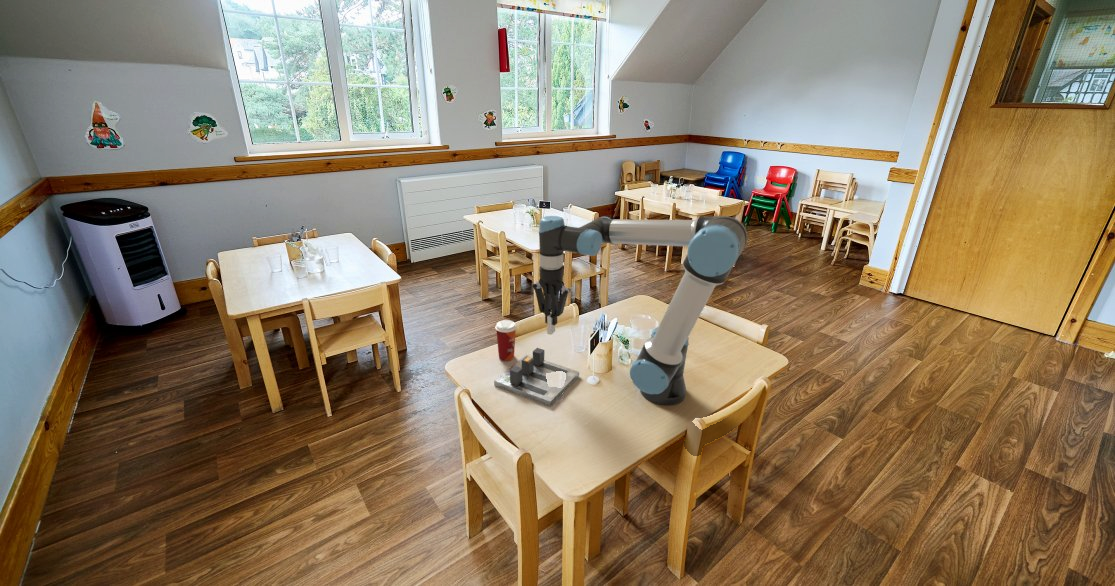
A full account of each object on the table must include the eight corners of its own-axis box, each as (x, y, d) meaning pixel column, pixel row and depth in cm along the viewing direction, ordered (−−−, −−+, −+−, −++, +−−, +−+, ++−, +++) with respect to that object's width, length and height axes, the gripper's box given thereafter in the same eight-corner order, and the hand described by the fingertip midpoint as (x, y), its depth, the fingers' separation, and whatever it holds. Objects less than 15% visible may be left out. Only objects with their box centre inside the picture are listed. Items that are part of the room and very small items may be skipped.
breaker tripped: (533, 371, 164) (533, 358, 162) (528, 375, 161) (529, 362, 159) (526, 368, 165) (526, 355, 163) (521, 372, 163) (521, 359, 161)
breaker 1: (522, 381, 158) (522, 368, 156) (517, 385, 156) (517, 372, 154) (515, 378, 160) (515, 365, 158) (510, 382, 157) (509, 369, 155)
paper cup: (515, 363, 172) (515, 329, 167) (494, 362, 172) (493, 328, 167) (517, 352, 180) (517, 319, 174) (497, 351, 180) (496, 318, 174)
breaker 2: (544, 361, 169) (544, 349, 167) (539, 365, 167) (539, 353, 165) (537, 359, 171) (537, 347, 169) (532, 363, 168) (532, 351, 166)
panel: (579, 376, 166) (579, 371, 165) (550, 406, 150) (550, 401, 149) (526, 358, 175) (526, 354, 174) (494, 385, 159) (494, 380, 158)
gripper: (575, 265, 148) (573, 332, 157) (539, 259, 153) (539, 323, 163) (564, 273, 142) (563, 341, 151) (527, 266, 147) (528, 332, 157)
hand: (551, 332), depth 157 cm, fingers closed
